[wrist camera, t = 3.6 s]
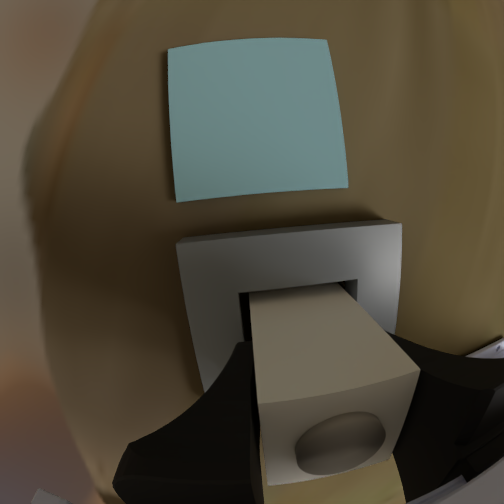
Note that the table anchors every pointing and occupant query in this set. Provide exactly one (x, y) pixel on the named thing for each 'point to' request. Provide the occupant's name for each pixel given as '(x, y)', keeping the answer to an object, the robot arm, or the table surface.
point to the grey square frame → (283, 276)
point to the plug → (325, 383)
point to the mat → (254, 118)
